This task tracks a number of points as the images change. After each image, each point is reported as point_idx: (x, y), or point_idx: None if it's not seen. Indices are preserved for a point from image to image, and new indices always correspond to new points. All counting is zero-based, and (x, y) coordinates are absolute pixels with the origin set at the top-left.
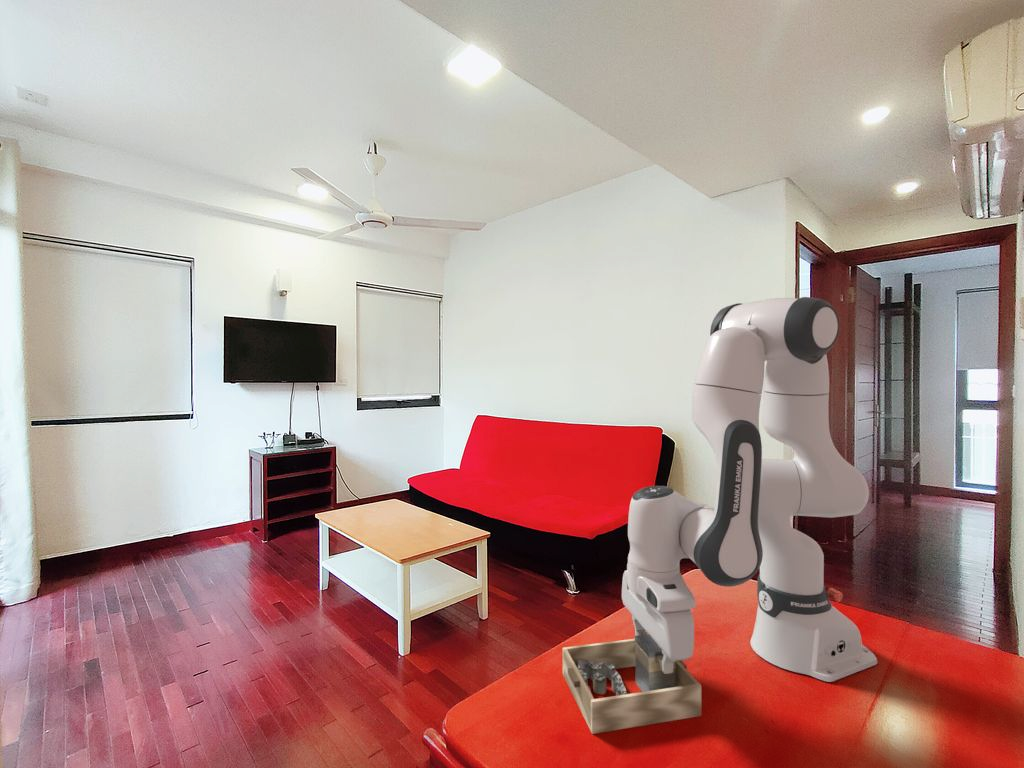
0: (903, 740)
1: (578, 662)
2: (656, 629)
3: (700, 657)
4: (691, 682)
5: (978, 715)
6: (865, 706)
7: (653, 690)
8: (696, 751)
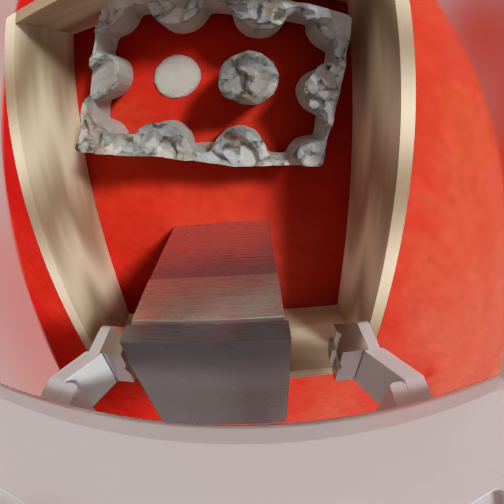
0: None
1: (340, 14)
2: (42, 471)
3: (320, 389)
4: None
5: None
6: None
7: (50, 251)
8: (32, 261)
